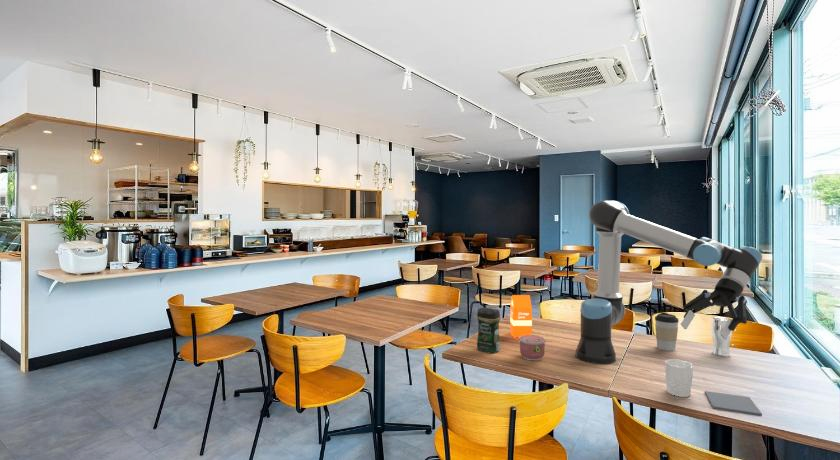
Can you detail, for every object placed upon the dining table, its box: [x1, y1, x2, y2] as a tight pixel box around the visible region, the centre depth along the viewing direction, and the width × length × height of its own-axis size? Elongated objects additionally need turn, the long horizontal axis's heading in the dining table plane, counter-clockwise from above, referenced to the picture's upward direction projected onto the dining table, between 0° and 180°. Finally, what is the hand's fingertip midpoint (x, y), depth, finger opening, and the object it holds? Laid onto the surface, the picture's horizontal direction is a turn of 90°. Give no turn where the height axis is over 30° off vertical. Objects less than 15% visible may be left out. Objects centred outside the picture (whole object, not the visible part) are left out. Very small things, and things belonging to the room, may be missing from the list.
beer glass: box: [711, 316, 733, 358], centre depth 176 cm, size 7×7×15 cm
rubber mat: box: [704, 390, 763, 416], centre depth 132 cm, size 12×12×1 cm
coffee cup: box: [654, 312, 680, 352], centre depth 184 cm, size 9×9×15 cm
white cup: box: [664, 358, 694, 398], centre depth 140 cm, size 8×8×10 cm
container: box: [518, 334, 546, 361], centre depth 175 cm, size 10×10×8 cm
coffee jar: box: [476, 306, 501, 354], centre depth 184 cm, size 10×8×19 cm
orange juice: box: [509, 294, 533, 339], centre depth 205 cm, size 8×9×20 cm
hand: (702, 331), depth 144 cm, fingers open, 13 cm apart
